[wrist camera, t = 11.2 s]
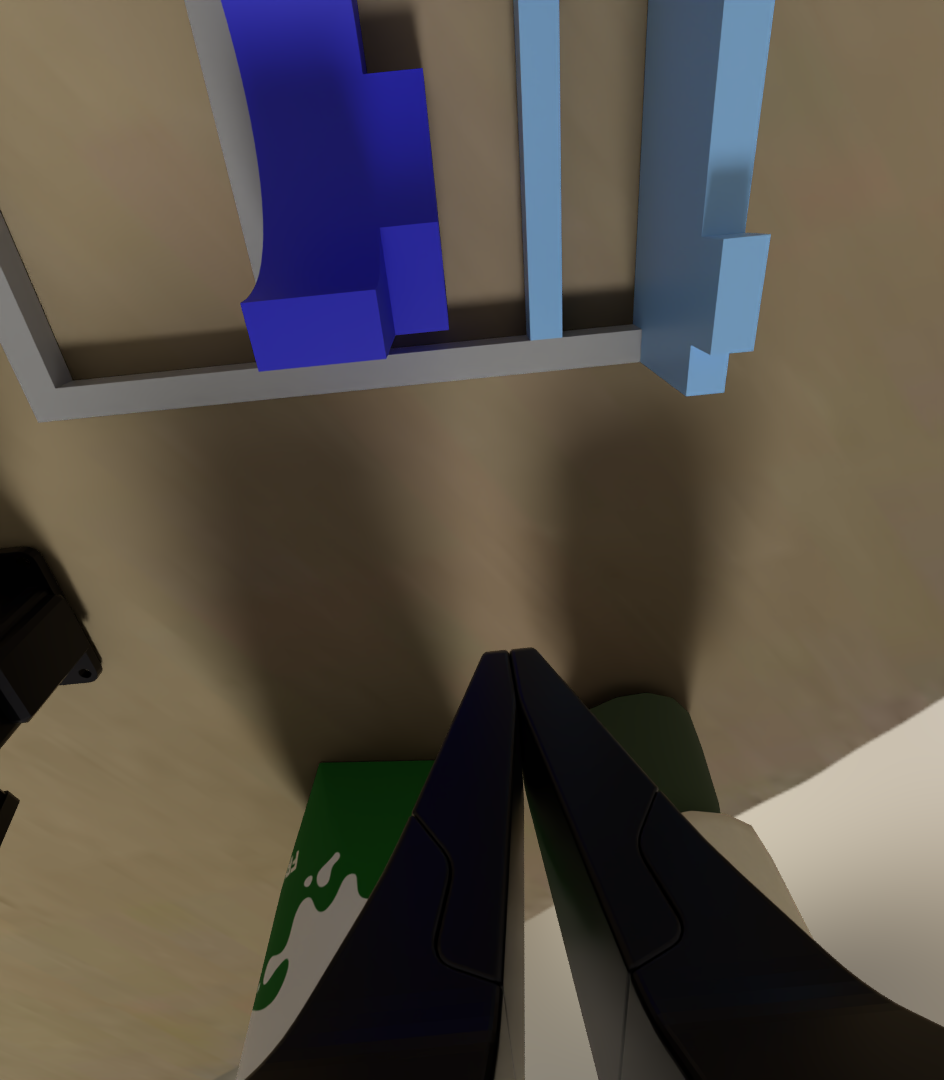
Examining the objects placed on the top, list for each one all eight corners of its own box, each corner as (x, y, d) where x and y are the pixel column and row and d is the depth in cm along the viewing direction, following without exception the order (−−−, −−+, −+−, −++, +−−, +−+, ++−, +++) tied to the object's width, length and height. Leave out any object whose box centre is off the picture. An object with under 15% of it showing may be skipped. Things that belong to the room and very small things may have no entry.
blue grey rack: (56, 413, 19) (-91, 489, 14) (-299, -364, 12) (-944, -866, 6) (661, 352, 19) (744, 406, 14) (720, -472, 11) (967, -1079, 6)
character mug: (495, 711, 27) (533, 1062, 16) (616, 625, 25) (758, 962, 14) (629, 811, 32) (733, 1145, 20) (742, 745, 29) (931, 1079, 18)
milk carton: (476, 852, 33) (515, 1576, 15) (315, 857, 32) (167, 1609, 15) (481, 744, 28) (543, 1582, 11) (295, 748, 28) (53, 1629, 11)
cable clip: (447, 313, 19) (450, 352, 13) (309, 327, 19) (258, 371, 13) (389, -263, 13) (352, -592, 8) (186, -241, 13) (9, -556, 8)
